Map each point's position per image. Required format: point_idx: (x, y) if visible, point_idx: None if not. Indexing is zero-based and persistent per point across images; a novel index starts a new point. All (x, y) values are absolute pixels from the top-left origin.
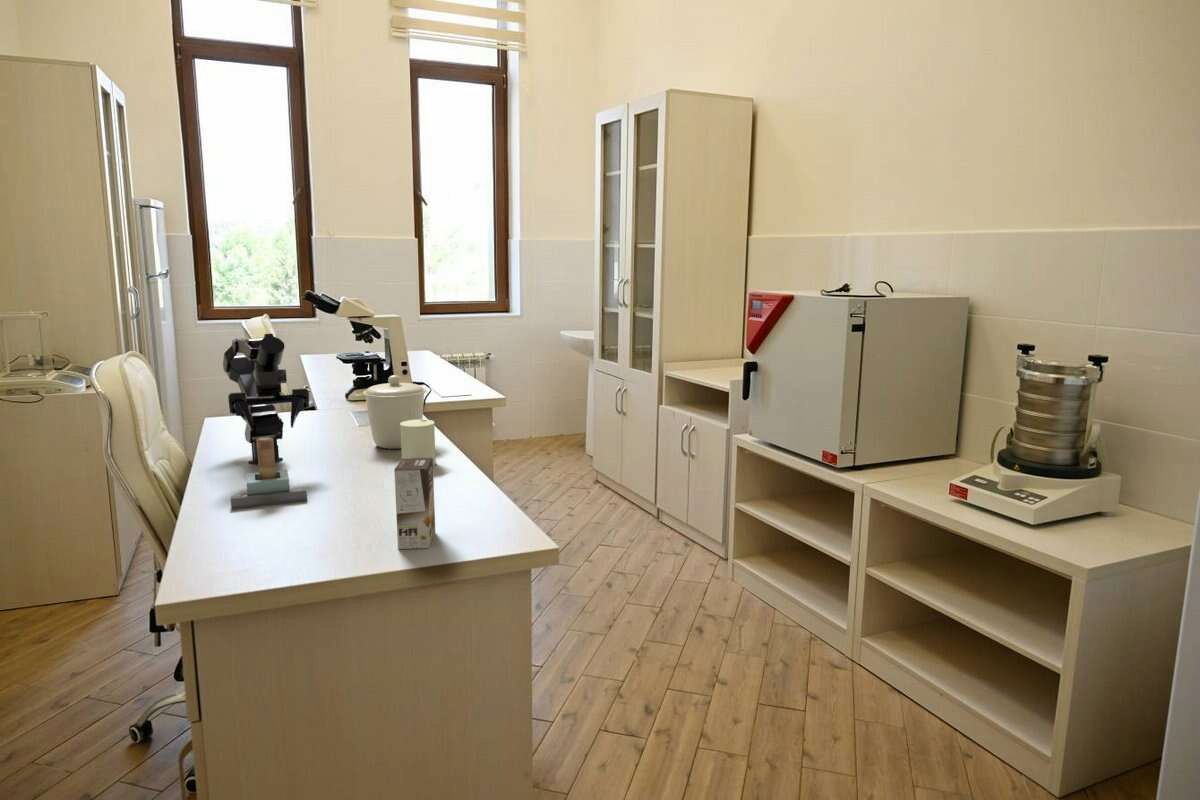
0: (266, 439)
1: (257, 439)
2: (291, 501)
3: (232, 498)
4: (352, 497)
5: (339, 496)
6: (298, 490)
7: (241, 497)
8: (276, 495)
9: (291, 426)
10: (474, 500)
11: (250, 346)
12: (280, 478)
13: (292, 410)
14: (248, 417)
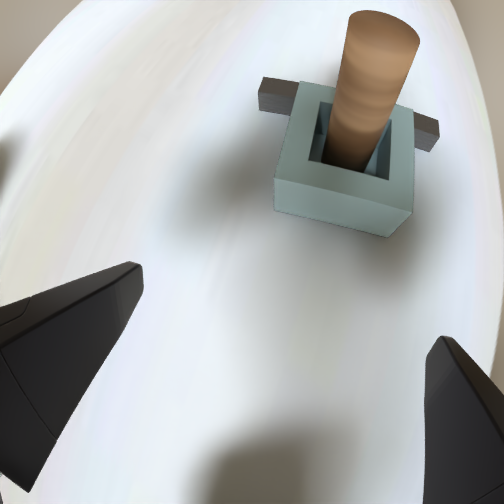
0: (378, 22)
1: (416, 41)
2: None
3: (434, 119)
4: (174, 77)
5: (191, 91)
6: (281, 84)
7: (416, 114)
8: None
9: (140, 271)
10: (72, 26)
11: None
12: (321, 96)
13: (24, 319)
14: (500, 404)
